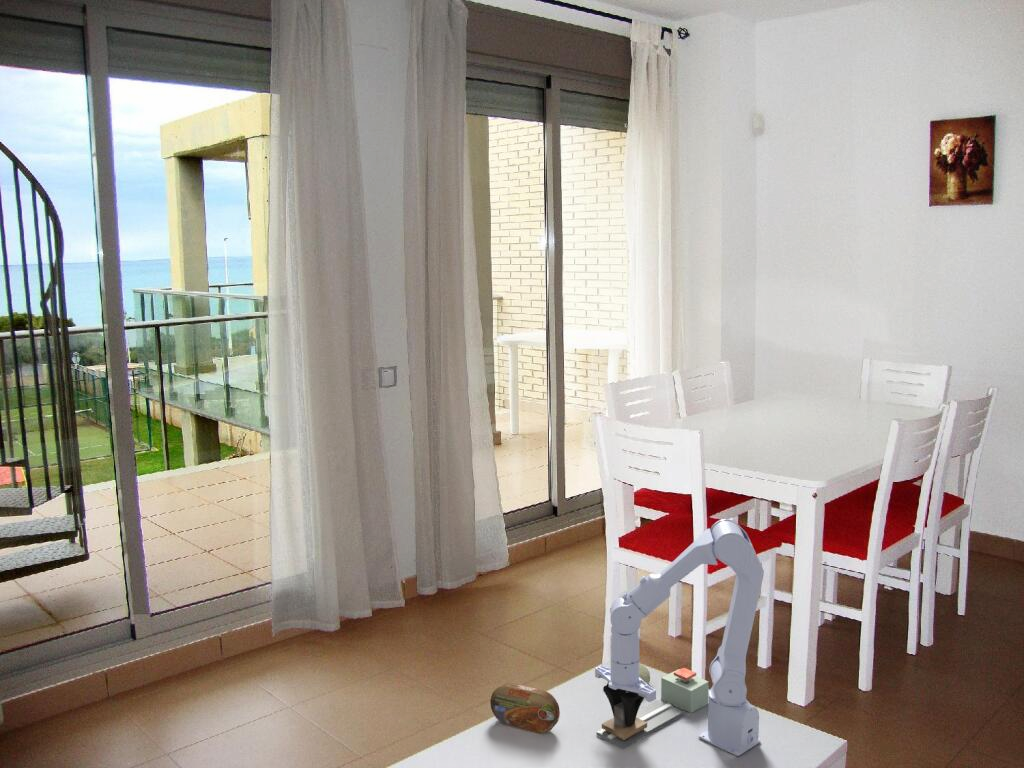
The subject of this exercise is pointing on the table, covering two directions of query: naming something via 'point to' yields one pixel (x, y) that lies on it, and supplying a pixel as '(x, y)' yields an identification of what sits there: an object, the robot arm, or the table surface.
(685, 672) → the button
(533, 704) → the tin
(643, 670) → the sea urchin shell
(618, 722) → the carriage
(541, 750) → the table surface
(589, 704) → the table surface
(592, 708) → the table surface
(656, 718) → the track
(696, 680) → the pale green block
